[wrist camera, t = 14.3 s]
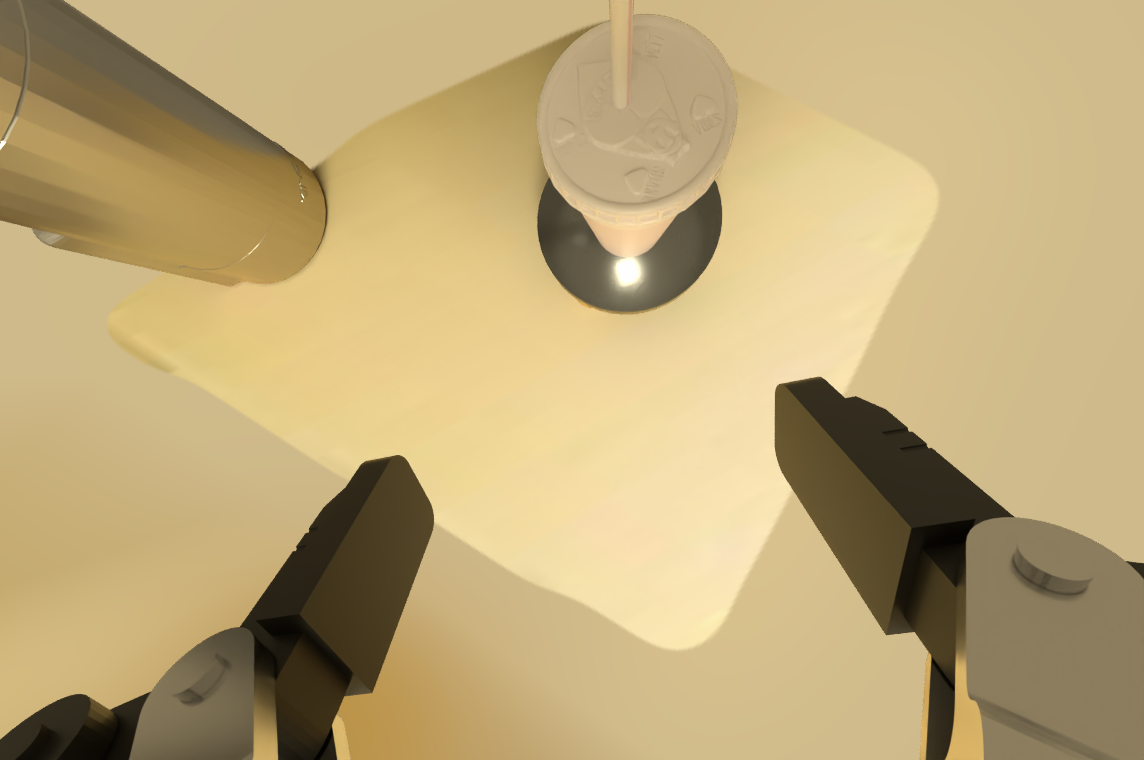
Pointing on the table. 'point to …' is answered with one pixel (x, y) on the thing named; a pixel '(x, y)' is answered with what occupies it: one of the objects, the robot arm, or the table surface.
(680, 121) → the smoothie
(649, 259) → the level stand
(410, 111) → the table surface
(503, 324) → the table surface
